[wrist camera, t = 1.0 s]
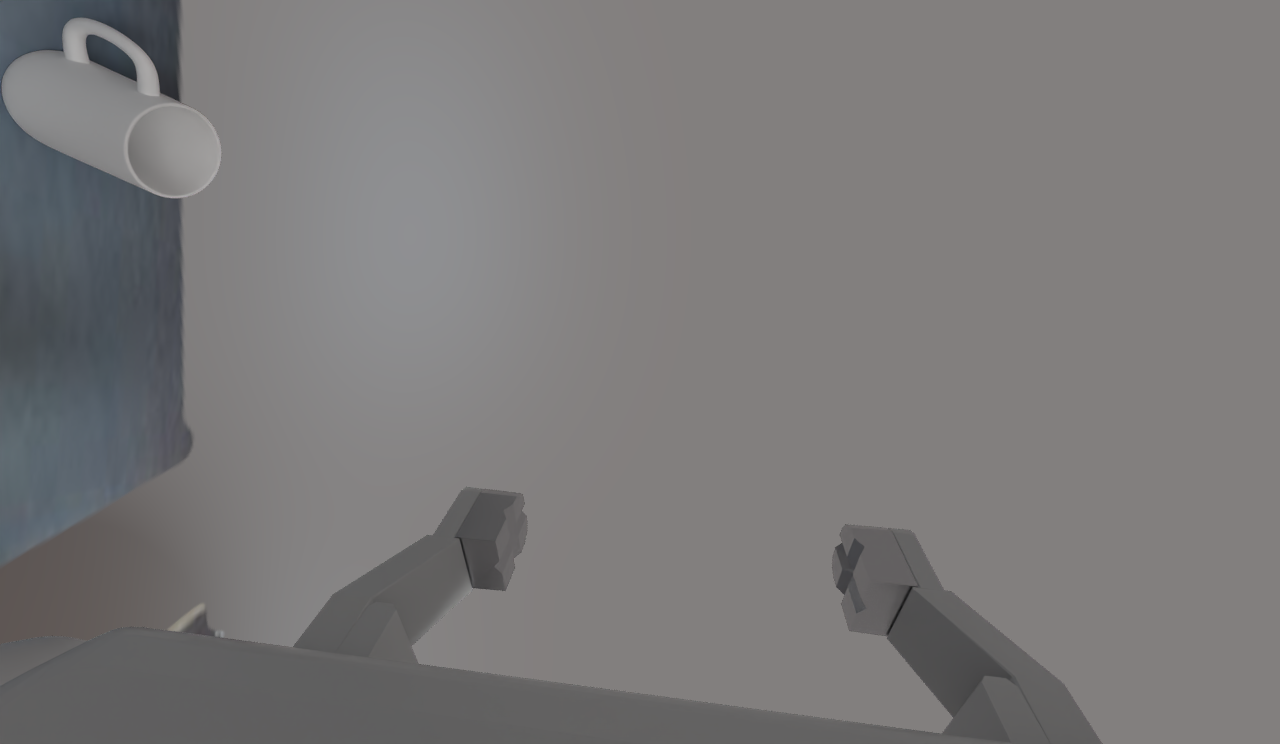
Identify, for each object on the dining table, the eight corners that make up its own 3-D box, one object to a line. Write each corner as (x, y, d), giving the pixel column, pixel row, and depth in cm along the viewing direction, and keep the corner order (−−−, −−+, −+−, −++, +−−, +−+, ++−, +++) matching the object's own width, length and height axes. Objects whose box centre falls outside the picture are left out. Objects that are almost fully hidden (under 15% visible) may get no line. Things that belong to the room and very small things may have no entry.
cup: (13, 152, 38) (134, 205, 39) (-40, -21, 32) (105, 46, 33) (125, 146, 45) (225, 191, 46) (99, 3, 39) (215, 58, 40)
